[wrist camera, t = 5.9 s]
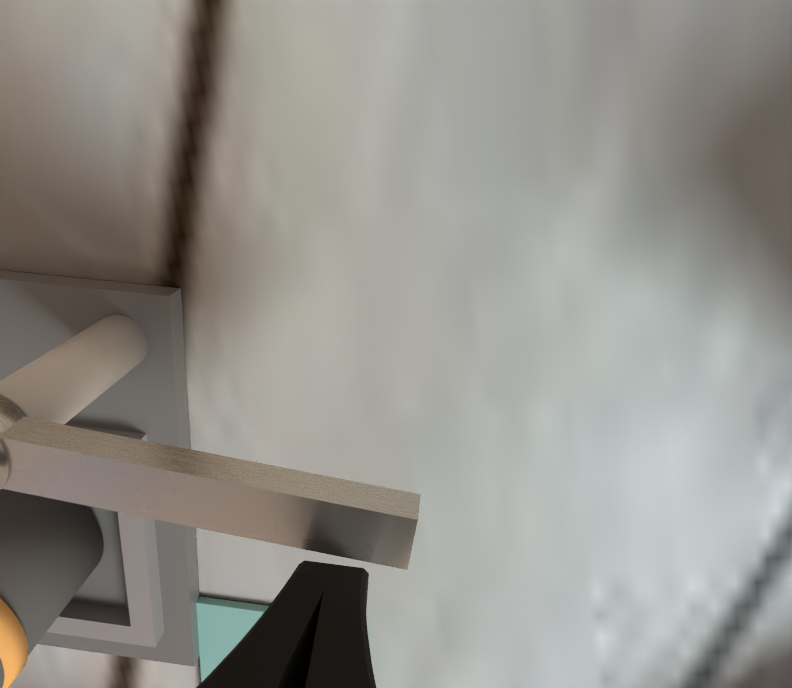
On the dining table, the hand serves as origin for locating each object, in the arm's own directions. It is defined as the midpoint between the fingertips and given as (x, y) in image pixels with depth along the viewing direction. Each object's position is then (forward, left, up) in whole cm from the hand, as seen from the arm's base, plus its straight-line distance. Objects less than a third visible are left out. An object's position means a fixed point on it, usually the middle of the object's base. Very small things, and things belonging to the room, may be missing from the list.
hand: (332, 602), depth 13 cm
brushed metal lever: (-4, +2, -1) cm, 4 cm away
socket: (-10, -3, -7) cm, 13 cm away
